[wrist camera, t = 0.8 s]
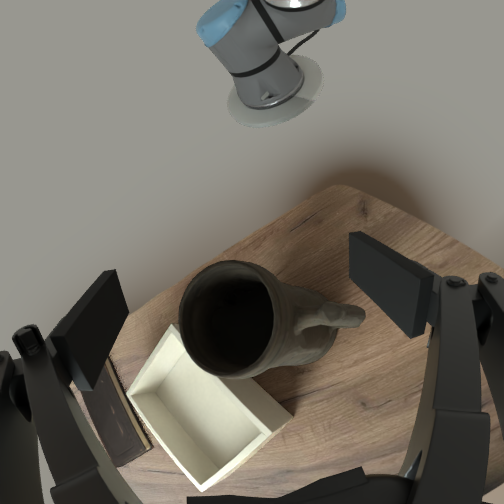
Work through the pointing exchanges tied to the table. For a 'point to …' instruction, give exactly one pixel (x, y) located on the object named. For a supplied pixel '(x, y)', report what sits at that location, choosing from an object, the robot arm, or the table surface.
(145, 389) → the open storage bin
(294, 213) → the table surface
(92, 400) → the hardcover book
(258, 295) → the beer stein
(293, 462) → the table surface
